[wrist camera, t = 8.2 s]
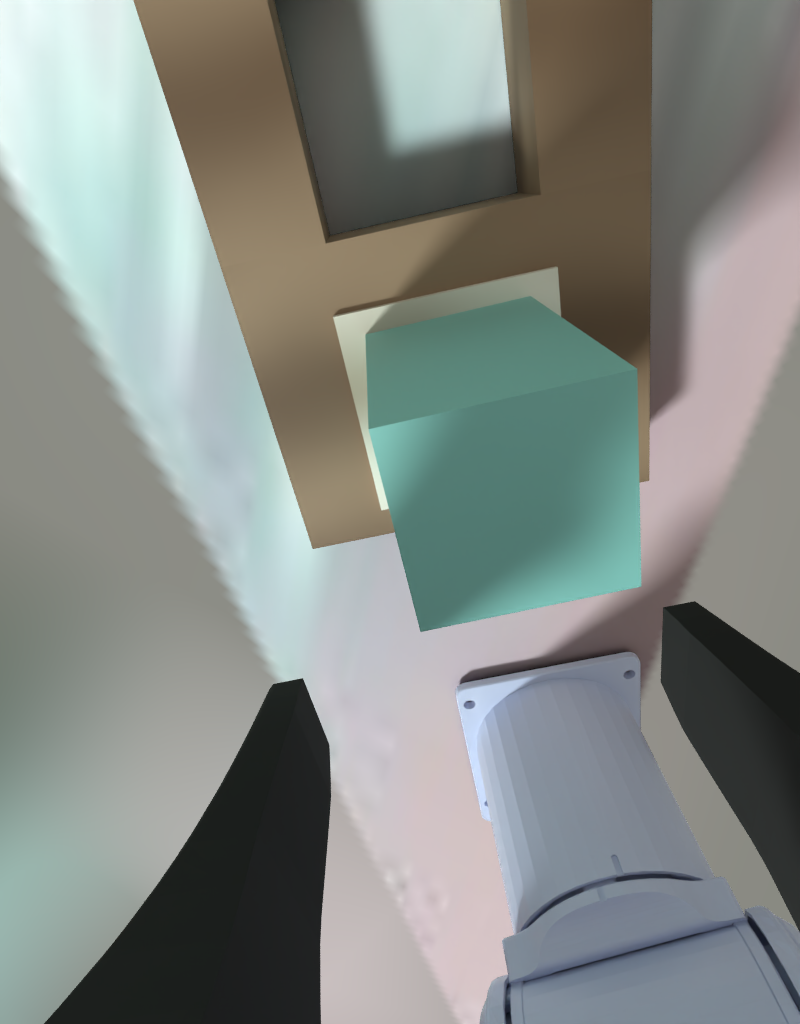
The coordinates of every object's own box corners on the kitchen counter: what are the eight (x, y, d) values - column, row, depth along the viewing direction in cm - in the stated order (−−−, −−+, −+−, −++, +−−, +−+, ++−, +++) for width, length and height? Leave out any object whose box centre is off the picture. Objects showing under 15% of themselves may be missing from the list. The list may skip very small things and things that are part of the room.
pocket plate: (619, 449, 21) (651, 483, 19) (317, 511, 22) (312, 552, 19) (606, -195, 13) (658, -274, 11) (135, -74, 14) (90, -125, 12)
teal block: (545, 448, 18) (641, 586, 12) (400, 480, 18) (420, 631, 12) (530, 295, 16) (637, 368, 10) (365, 334, 16) (368, 429, 10)
